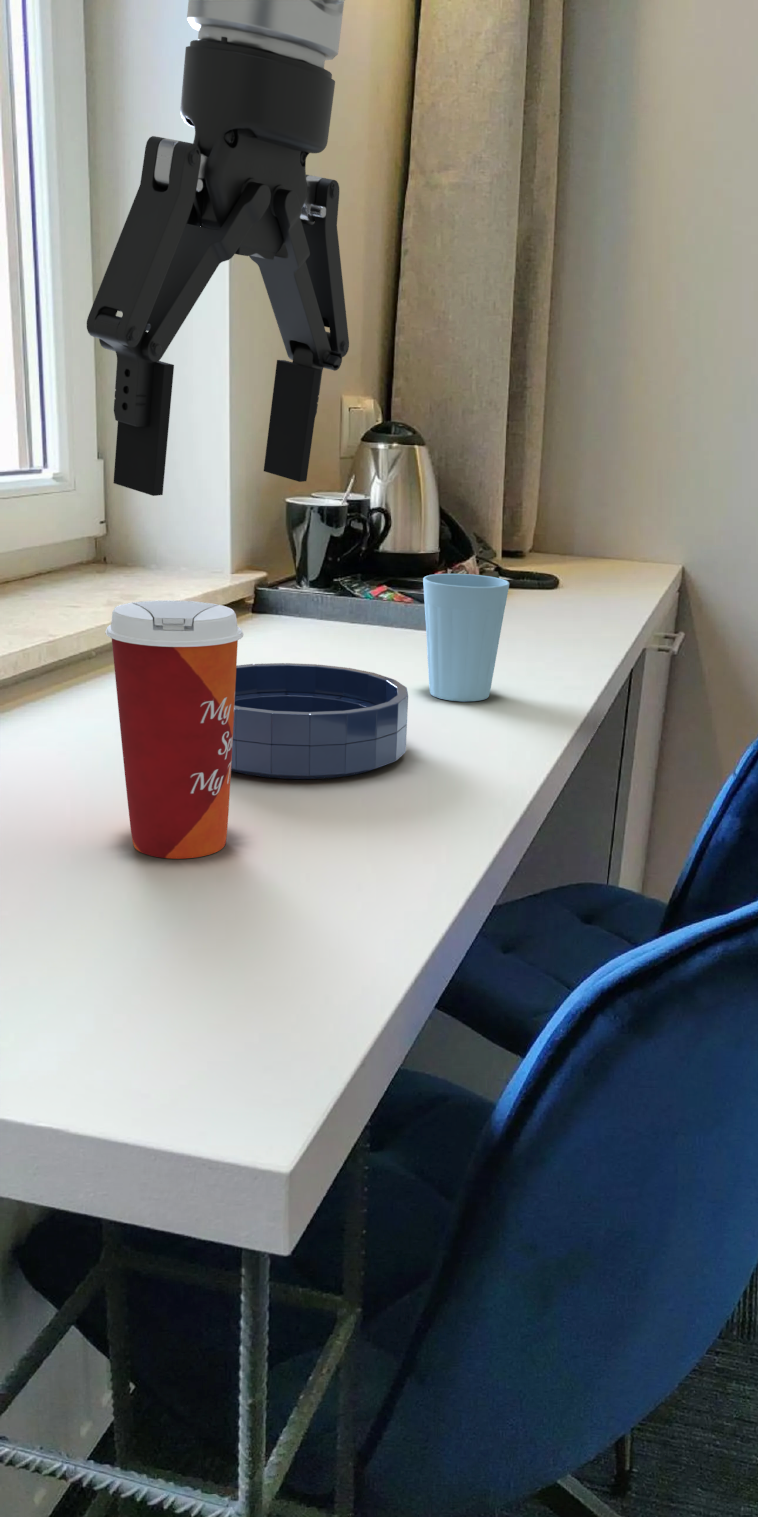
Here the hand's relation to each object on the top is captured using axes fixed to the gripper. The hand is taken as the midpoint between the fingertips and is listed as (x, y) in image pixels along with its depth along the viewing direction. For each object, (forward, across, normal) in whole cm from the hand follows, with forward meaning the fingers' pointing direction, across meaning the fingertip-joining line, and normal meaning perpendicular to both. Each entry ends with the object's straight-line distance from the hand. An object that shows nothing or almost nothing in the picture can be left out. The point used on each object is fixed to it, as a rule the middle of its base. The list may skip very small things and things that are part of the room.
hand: (216, 483), depth 74 cm
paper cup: (+21, -4, -3) cm, 21 cm away
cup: (+22, +42, +1) cm, 47 cm away
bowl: (+22, +17, +2) cm, 27 cm away
